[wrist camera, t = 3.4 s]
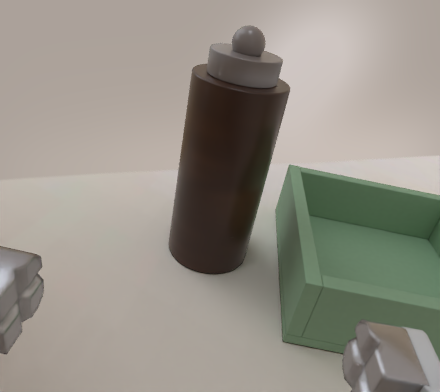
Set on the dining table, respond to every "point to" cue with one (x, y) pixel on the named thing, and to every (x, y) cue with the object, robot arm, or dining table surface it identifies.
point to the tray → (355, 258)
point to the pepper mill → (226, 152)
